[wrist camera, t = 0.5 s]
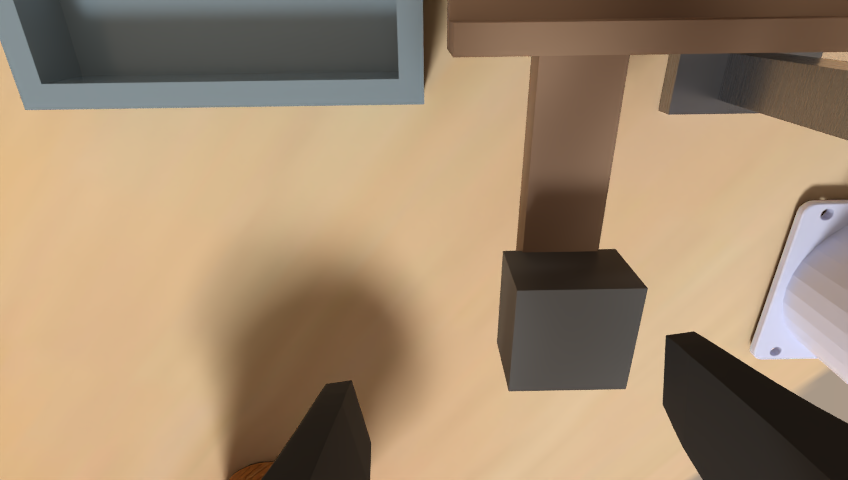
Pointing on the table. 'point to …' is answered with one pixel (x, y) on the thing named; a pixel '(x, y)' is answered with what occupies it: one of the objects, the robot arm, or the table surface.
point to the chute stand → (761, 87)
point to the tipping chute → (597, 158)
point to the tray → (213, 53)
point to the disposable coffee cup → (252, 472)
